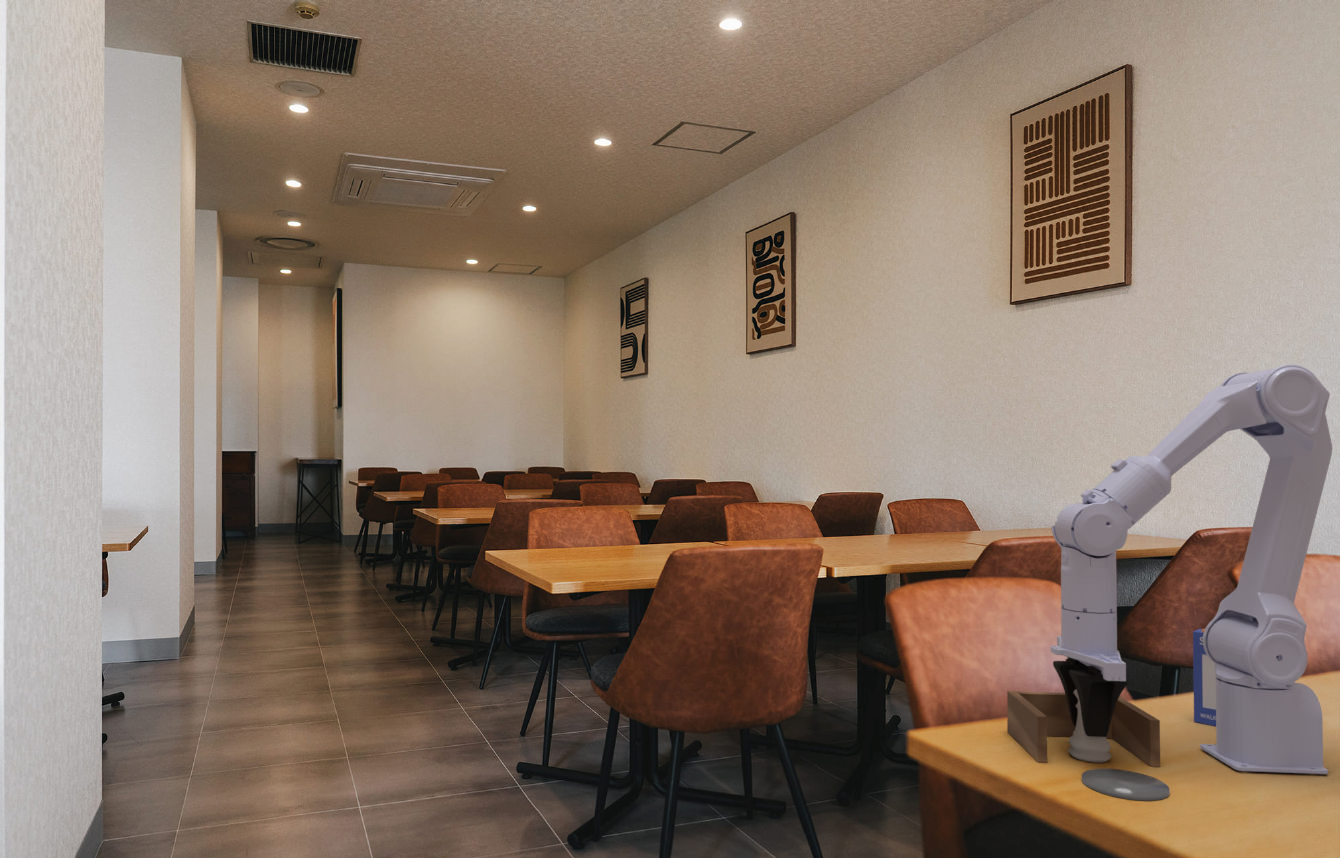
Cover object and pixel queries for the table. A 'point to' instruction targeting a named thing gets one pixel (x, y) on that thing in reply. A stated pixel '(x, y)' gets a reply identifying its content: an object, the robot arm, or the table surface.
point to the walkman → (1203, 682)
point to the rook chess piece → (1087, 743)
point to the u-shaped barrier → (1051, 717)
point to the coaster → (1125, 784)
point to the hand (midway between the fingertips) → (1089, 730)
